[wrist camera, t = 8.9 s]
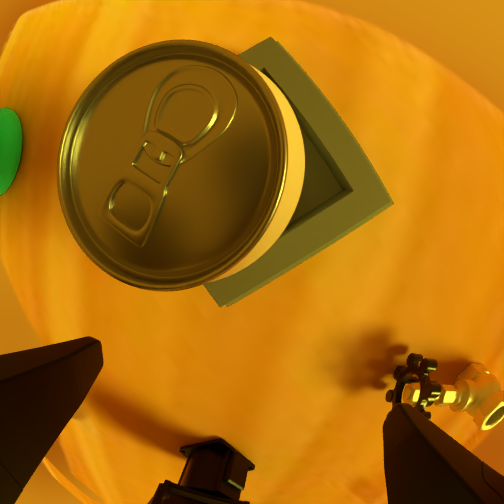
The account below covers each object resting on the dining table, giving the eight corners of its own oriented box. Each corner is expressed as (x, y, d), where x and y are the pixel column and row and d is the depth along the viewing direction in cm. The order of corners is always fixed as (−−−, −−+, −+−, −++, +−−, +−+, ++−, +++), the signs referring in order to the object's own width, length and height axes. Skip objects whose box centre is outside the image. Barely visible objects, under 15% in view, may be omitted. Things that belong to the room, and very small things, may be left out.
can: (316, 161, 16) (376, 113, 4) (256, 246, 18) (199, 360, 6) (228, 106, 16) (130, 2, 4) (174, 190, 17) (23, 213, 6)
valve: (495, 350, 18) (411, 337, 19) (527, 385, 12) (444, 386, 13) (463, 400, 20) (377, 396, 21) (487, 439, 14) (394, 450, 14)
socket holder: (230, 301, 20) (216, 328, 16) (131, 154, 18) (98, 151, 14) (388, 202, 17) (413, 208, 13) (278, 47, 15) (274, 18, 11)
